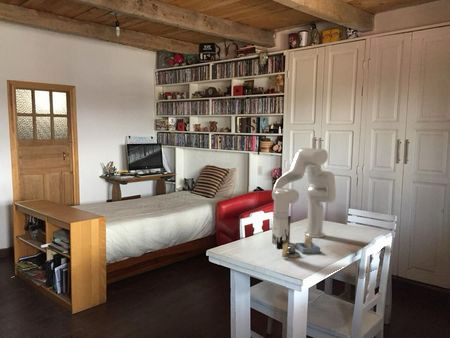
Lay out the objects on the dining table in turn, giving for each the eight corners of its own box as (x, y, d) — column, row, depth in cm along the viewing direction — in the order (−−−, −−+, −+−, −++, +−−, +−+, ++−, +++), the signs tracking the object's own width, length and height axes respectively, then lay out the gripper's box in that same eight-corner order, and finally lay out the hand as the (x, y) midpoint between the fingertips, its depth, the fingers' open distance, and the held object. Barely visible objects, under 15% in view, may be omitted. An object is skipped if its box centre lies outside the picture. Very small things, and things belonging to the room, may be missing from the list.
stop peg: (302, 248, 216) (303, 235, 215) (309, 247, 217) (310, 235, 216) (306, 250, 212) (307, 237, 211) (312, 250, 213) (313, 237, 212)
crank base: (280, 252, 210) (280, 250, 209) (295, 252, 211) (296, 250, 211) (288, 260, 198) (288, 258, 198) (304, 259, 200) (304, 257, 199)
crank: (289, 251, 209) (289, 238, 208) (296, 252, 206) (297, 240, 206) (279, 256, 200) (280, 243, 199) (287, 258, 198) (287, 245, 197)
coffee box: (280, 245, 222) (281, 218, 221) (271, 243, 227) (272, 216, 225) (289, 242, 229) (291, 215, 227) (281, 240, 233) (282, 214, 232)
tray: (295, 248, 218) (296, 243, 218) (312, 247, 220) (312, 242, 220) (302, 253, 208) (303, 248, 208) (320, 253, 210) (320, 247, 210)
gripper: (268, 211, 207) (267, 245, 209) (280, 218, 192) (279, 254, 195) (281, 211, 209) (280, 243, 211) (294, 217, 195) (293, 252, 197)
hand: (279, 248), depth 203 cm, fingers closed
